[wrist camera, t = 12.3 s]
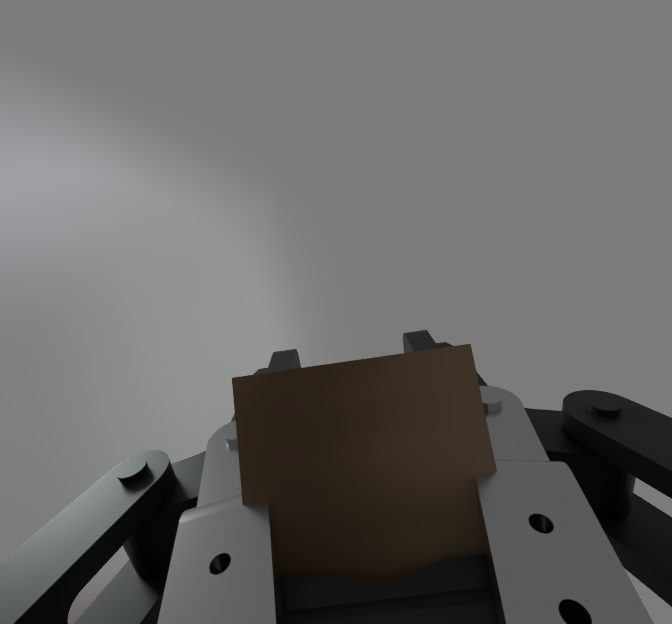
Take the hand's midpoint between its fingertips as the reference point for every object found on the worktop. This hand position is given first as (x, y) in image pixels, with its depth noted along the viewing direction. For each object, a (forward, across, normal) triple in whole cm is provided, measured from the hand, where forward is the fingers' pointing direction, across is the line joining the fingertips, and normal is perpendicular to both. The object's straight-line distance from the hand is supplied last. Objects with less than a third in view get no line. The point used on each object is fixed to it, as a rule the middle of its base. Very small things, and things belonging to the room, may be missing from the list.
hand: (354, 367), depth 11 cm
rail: (+3, 0, -5) cm, 6 cm away
